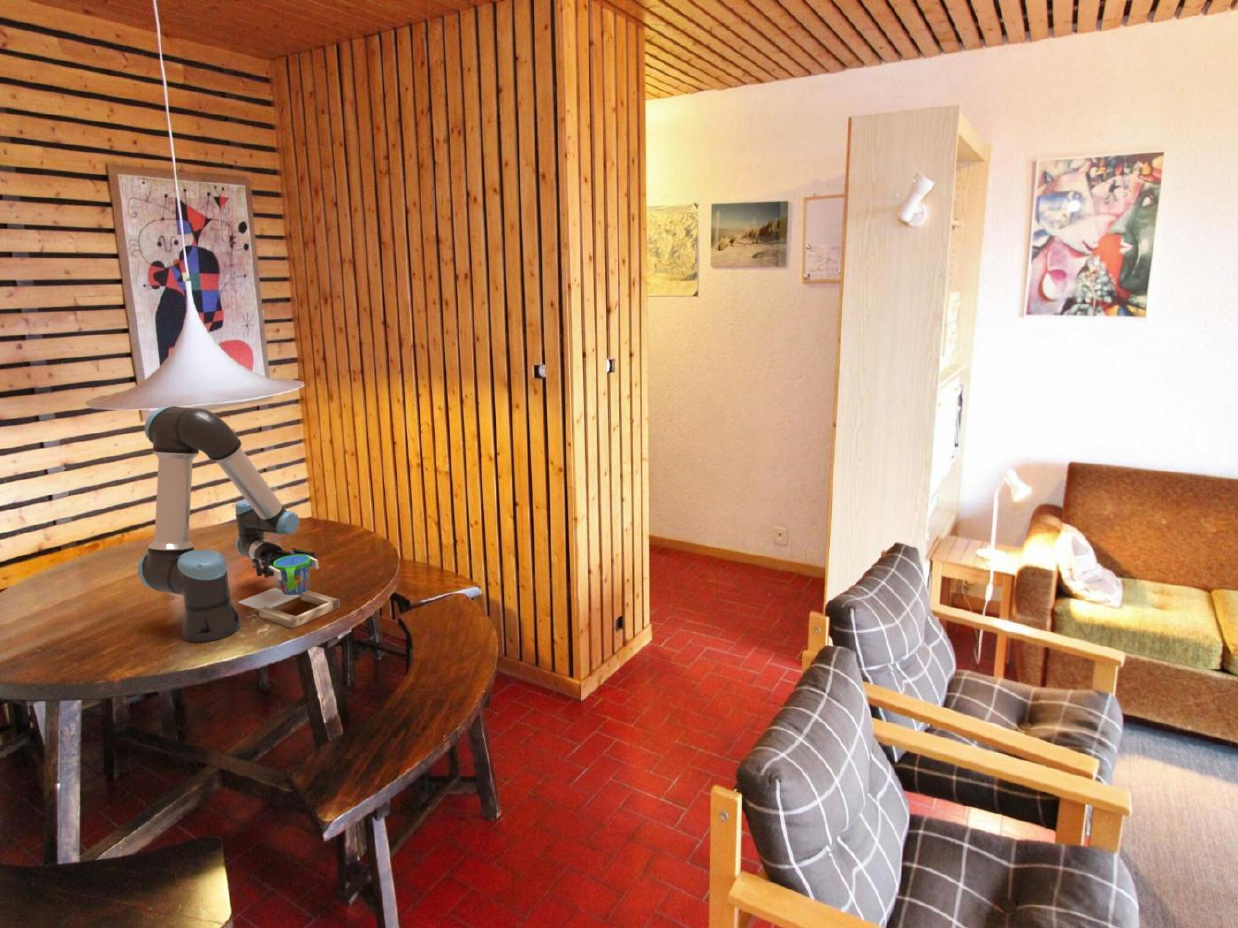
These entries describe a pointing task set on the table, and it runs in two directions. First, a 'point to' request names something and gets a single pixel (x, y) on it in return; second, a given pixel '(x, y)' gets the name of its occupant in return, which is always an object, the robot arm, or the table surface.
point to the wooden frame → (292, 621)
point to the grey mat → (268, 599)
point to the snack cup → (294, 573)
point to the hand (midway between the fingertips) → (298, 569)
